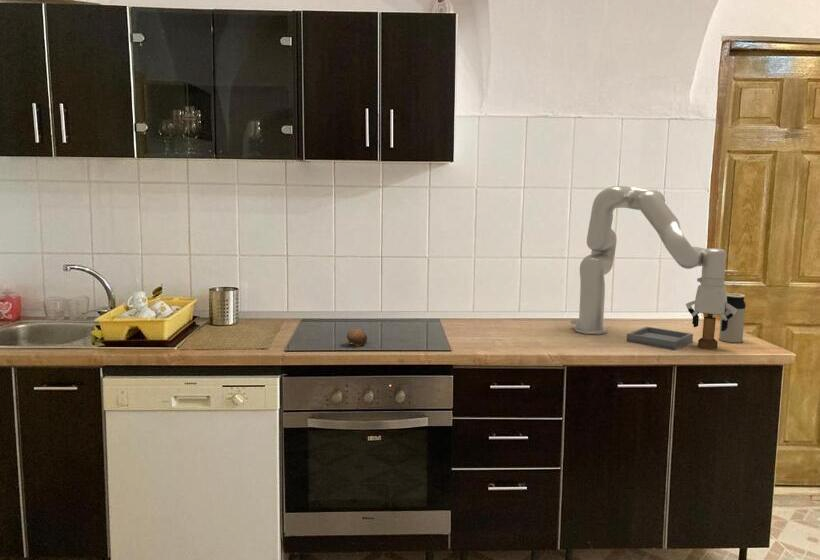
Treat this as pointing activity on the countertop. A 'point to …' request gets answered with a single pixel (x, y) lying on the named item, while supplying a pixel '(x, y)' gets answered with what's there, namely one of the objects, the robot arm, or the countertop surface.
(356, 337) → the mushroom
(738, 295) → the travel mug
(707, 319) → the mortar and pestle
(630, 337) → the tray
